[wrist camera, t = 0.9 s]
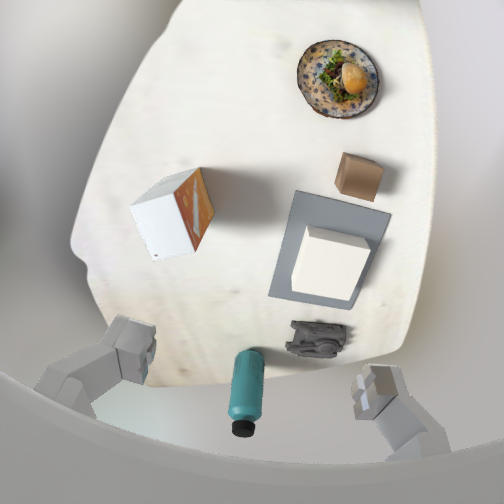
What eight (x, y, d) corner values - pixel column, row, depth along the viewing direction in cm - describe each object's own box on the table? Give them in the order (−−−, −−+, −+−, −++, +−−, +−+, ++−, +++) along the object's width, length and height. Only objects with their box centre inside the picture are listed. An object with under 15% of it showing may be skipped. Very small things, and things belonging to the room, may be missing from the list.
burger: (309, 30, 33) (315, 17, 26) (385, 60, 34) (405, 56, 27) (285, 102, 39) (287, 103, 32) (361, 130, 39) (376, 138, 33)
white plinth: (306, 225, 47) (309, 236, 43) (364, 238, 47) (370, 250, 44) (291, 276, 52) (292, 290, 48) (344, 286, 52) (348, 300, 49)
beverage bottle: (229, 349, 63) (216, 429, 45) (256, 340, 61) (248, 424, 43) (245, 366, 65) (236, 443, 48) (271, 358, 63) (267, 438, 46)
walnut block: (342, 152, 41) (350, 159, 37) (373, 161, 41) (383, 169, 37) (334, 183, 44) (340, 193, 39) (364, 191, 44) (373, 202, 39)
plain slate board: (295, 190, 45) (295, 191, 44) (389, 213, 45) (390, 215, 45) (268, 294, 55) (268, 296, 54) (349, 308, 55) (349, 310, 55)
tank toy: (282, 346, 62) (282, 365, 57) (290, 314, 57) (291, 333, 53) (336, 351, 62) (339, 369, 57) (349, 319, 57) (353, 338, 53)
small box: (215, 213, 48) (196, 254, 36) (179, 221, 49) (152, 263, 37) (200, 165, 44) (173, 192, 32) (163, 176, 45) (127, 206, 34)
